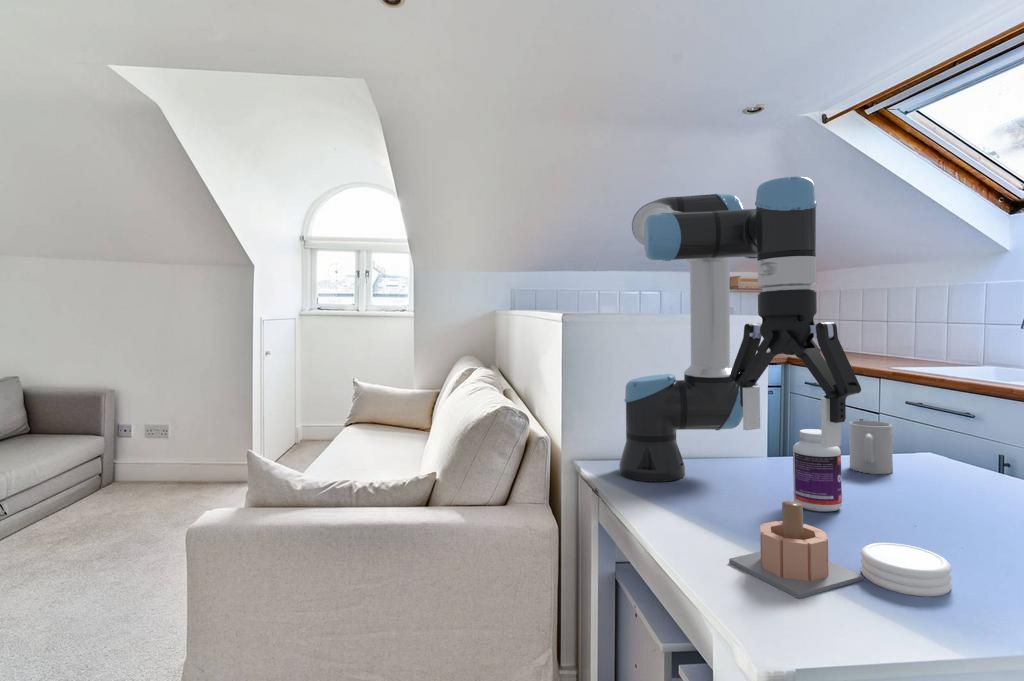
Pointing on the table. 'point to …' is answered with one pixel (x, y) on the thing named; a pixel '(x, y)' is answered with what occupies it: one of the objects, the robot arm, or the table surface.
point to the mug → (871, 447)
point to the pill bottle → (816, 473)
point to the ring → (794, 552)
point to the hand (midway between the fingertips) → (788, 437)
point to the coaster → (906, 569)
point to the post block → (797, 588)
